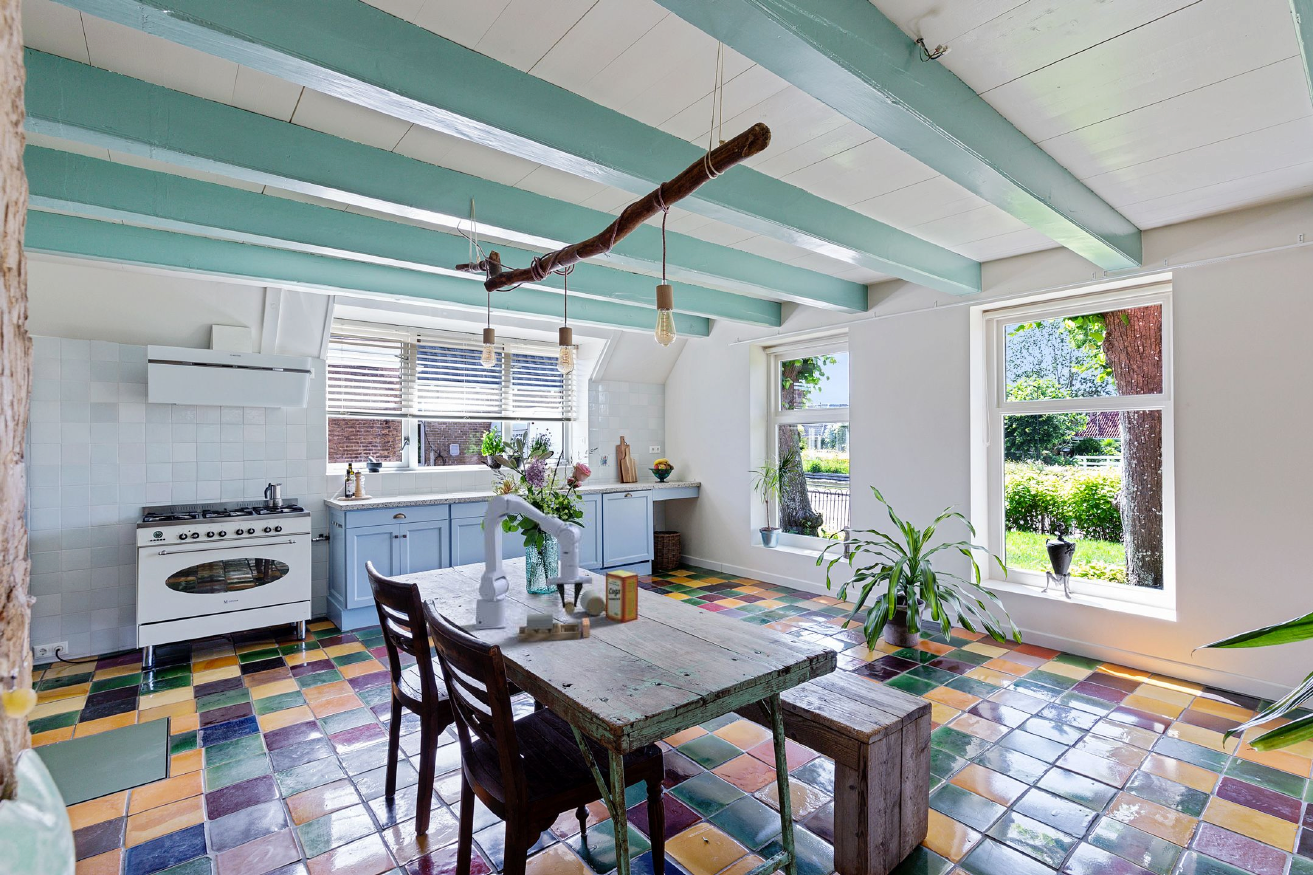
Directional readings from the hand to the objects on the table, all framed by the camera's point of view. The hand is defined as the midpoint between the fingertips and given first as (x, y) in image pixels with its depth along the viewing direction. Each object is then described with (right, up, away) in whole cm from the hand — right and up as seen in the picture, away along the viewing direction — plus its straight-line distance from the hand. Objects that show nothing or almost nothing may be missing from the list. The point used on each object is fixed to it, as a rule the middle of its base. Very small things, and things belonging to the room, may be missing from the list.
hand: (569, 606), depth 203 cm
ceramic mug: (+6, -9, +23) cm, 26 cm away
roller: (0, -2, 0) cm, 2 cm away
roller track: (-6, -9, -3) cm, 11 cm away
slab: (-9, -5, -3) cm, 11 cm away
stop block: (+5, -9, 0) cm, 10 cm away
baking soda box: (+16, -9, +17) cm, 25 cm away
